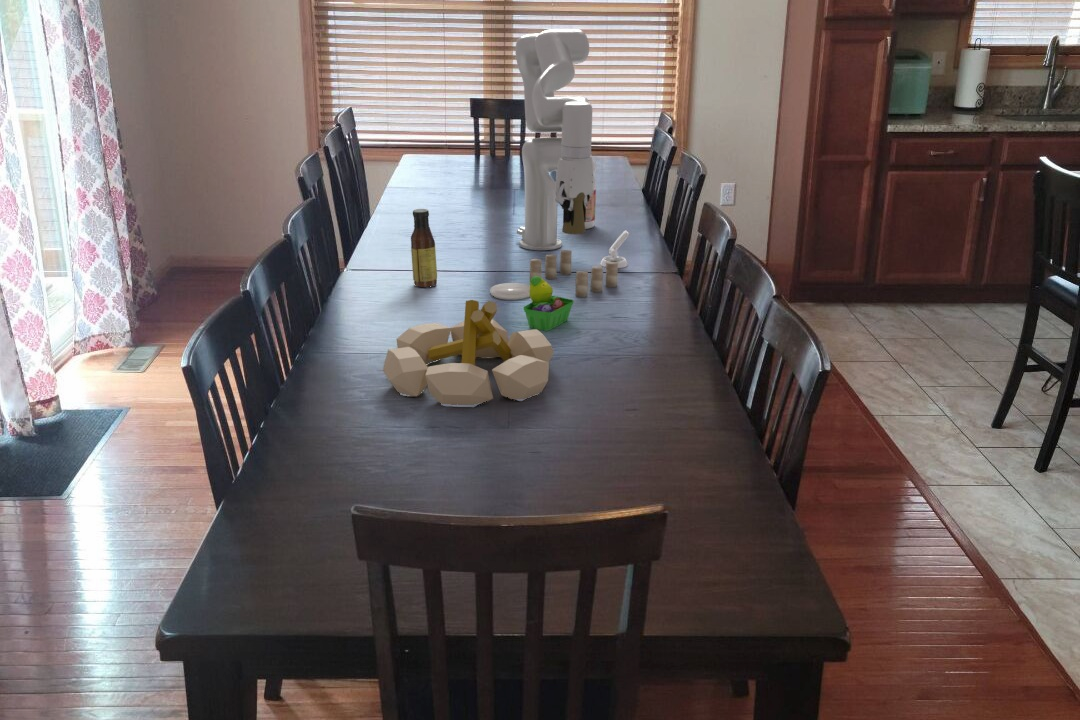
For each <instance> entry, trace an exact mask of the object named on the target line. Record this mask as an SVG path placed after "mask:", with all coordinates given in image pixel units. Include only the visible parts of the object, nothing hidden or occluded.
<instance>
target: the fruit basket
mask: <svg viewBox="0 0 1080 720" xmlns="http://www.w3.org/2000/svg"><path fill="white" fill-rule="evenodd" d="M529 286H530V291H529V294H530V297H529V298H530V300H531V302H530V303H528V304H525V305H524V306H523V311H524V312H525V316H526V319H527V323H528V326H529V328H531V329H537V330H538V331H539V330H540V331H546V332H550V331H551V330H553V329H554V328H556V327H557V326H560V325H562V324H563V323H566V322H567V321H568V319H569V316H570V312H571V308H572V306H573V304H574V300H573V299H571V298H566V297H561V296H558V295H557V296H556V295H553V293H554V290H553V287H552V286H551V284H549V283H548V282H547V281H546V280H544V278H542V277H541V278H540V277H539V276H534V277H532V278H531V280H530V279H529Z"/></svg>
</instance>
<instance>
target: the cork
mask: <svg viewBox="0 0 1080 720" xmlns="http://www.w3.org/2000/svg"><path fill="white" fill-rule="evenodd" d="M584 199H585V194H584V193H583V192H581V193H579V194H578V195H577V197H576V198H574V199H573V202H574V203H573V209H572V210H574V222H573V225H572V226H571V221H570V222H568V223H566V222H565V223H564V224H563V223H562V224H563V225H562V229H561V230H562V233H564V234H567V235H582V234H585V233H586V229H585V222H584V212H583V201H584ZM566 201H567V202H568V204H569V200H566Z"/></svg>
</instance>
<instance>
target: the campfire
mask: <svg viewBox="0 0 1080 720" xmlns="http://www.w3.org/2000/svg"><path fill="white" fill-rule="evenodd" d="M464 307H465V308H464V309H465V310H464V320H463V321H461V322H459V323H457V324H455V325H452V326H451V327H450V326H447V325H444V324H441V323H439V322H435V323H420V324H418V325H415V326H412V327H409V328H407V329H406V330H405V331H404V332H402V334H401V335H399V336H398V337H397V338H396V339H395V340H396V345H397V346H396V347H397V348H389V349H388V350H387V352H386V357H385V360H384V364H383V367H382V372H383V374H384V375H385V377H386V378H387V379H388V381H389V382H390V384H391V385H392V386H393V387H394V389H395V390H396V391H397V393H398V392H399V393H402V394H406V395H410V396H409V397H418V396H421V395H422V394H421V392H423V390H424V391H425V390H426V388H427V389H428V393H429V395H430V396H432V397H433V398H434V399H435V401H436V402H437V403H439V402H440V403H442V404H451V405H457V404H458V405H474V404H478V403H482V402H485V403H487V402H489V401H491V400H493V399H494V396H493V395H494V394H493V391H492V386H491V381H490V376H489V375H490V374H489V371H488V370H486V369H484V368H481V367H479V366H477V365H476V359H477V358H476V357H499V358H501V360H502V361H503V362H502V363H500V364H499V365H497V366H495V367H493V368H492V369H491V372H492V374H493V377H494V378H495V379H494V380H495V382H496V384H497V387H498V390H499V392H500V394H501V396H503V397H505V398H507V397H508V398H507V399H510V400H512V399H525V398H528V397H530V396H533V395H535V394H538V393H540V392H541V393H542V392H543V390H544V388H545V387H546V385H547V383H548V381H549V372H550V371H549V370H550V369H549V368H550V361H551V359H552V357H553V355H554V354H555V350H554V348H553V345H552V344H551V343H550V341H549V340H548V338H546V336H545V335H544V334H543V333H542V332H541V330H540V331H539V329H535V328H533V329H528V330H527V329H526V330H521V331H515V332H514V331H513V332H510V335H509V334H508V331H507V330H506V329H505V328H504V327H502V325H500V323H498V322H497V321H496V320H495V319H494V317H495V315H496V314H497V312H498V306H497V303H496V302H494V301H491V300H487V302H485V303H484V304H483V305H482V307H481V309H480V302H479V301H478V300H474V299H469V300H466V301H465V306H464ZM450 335H451V340H452V341H450V342H449V338H450ZM458 355H459V356H461V362H460V363H458V362H450V363H443V364H442V363H441V364H436V365H431V366H429V365H426V364H428V363H430V362H433V361H436V360H439V359H441V360H442V359H443V360H444V359H447V358H451V357H455V356H458ZM399 393H398V394H399ZM423 393H424V392H423ZM420 394H421V395H420ZM486 401H487V402H486ZM440 403H439V404H440Z"/></svg>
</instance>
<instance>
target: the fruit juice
mask: <svg viewBox="0 0 1080 720" xmlns="http://www.w3.org/2000/svg"><path fill="white" fill-rule="evenodd" d="M591 157H592V164H593V190H594V193H593V195H592V196H591V197H590V199H589V201H588V205H587V207H586V219H585V230H588V229H592V228H594V226H595V223H596V197H597V196H596V195H597V193H596V191H597V182H596V180H597V179H596V178H595V177H596V176H595V173H596V171H597V164H596V161H595V159H594V157H593V155H592V154H591Z"/></svg>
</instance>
